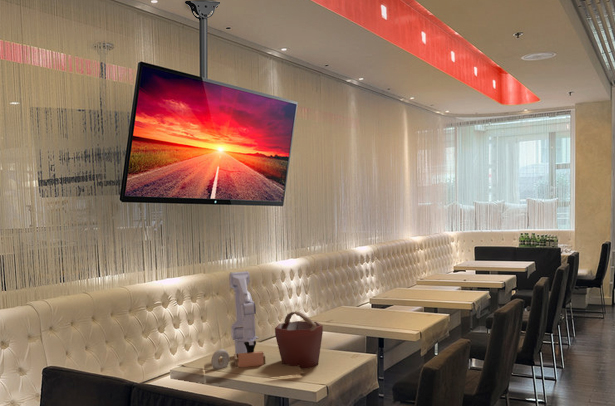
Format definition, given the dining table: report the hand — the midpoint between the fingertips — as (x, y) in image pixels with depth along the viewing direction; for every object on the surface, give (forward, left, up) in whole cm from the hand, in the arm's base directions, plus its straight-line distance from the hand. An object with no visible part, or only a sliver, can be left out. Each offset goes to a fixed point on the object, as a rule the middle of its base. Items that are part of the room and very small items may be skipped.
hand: (250, 357), depth 276 cm
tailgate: (0, 0, -4) cm, 4 cm away
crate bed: (-7, 0, -6) cm, 9 cm away
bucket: (+1, +23, -6) cm, 24 cm away
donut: (-3, -14, -6) cm, 15 cm away
